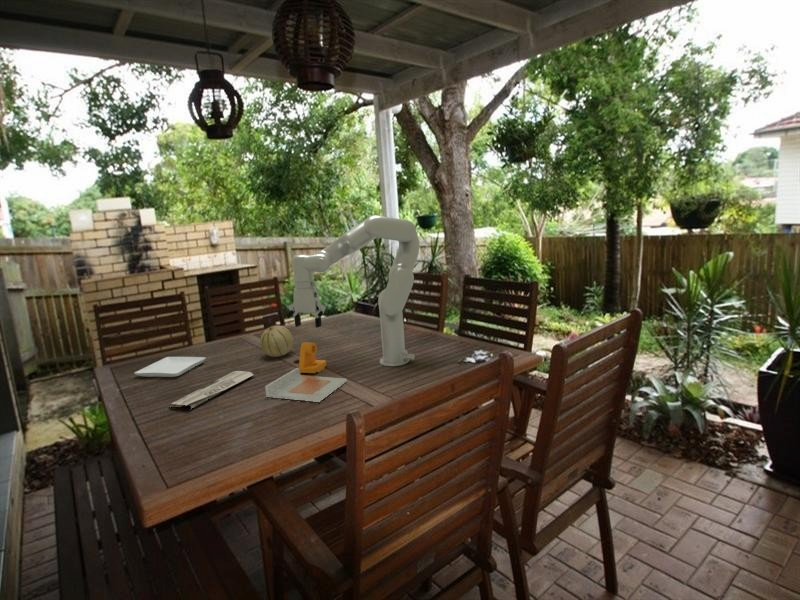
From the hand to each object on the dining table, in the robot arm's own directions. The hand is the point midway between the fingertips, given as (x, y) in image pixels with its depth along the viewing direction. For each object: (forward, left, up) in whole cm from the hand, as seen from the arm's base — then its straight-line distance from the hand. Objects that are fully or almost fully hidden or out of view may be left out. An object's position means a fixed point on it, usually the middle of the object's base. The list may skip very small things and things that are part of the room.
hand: (308, 326), depth 187 cm
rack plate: (-10, +20, -19) cm, 29 cm away
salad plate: (+65, +13, -20) cm, 69 cm away
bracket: (0, 0, -19) cm, 19 cm away
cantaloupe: (+28, -14, -19) cm, 36 cm away
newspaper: (+25, +29, -20) cm, 43 cm away
